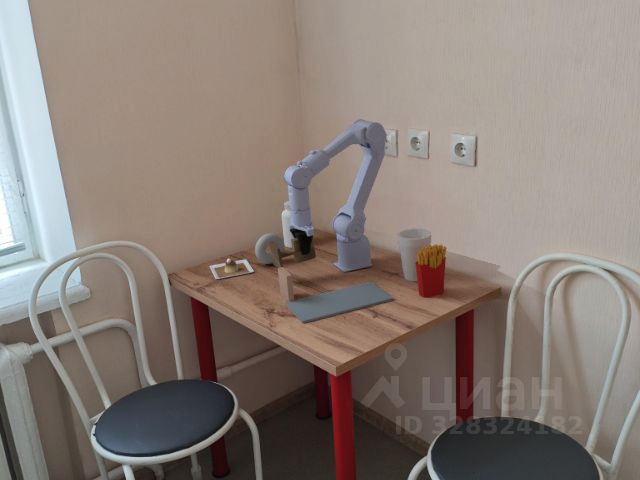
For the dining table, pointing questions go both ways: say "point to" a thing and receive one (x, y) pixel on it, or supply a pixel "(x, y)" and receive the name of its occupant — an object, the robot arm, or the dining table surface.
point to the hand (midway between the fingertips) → (304, 252)
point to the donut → (263, 243)
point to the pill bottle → (285, 222)
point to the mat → (337, 302)
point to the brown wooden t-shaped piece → (291, 253)
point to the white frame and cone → (231, 267)
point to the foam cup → (412, 249)
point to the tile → (285, 284)
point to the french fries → (431, 270)
